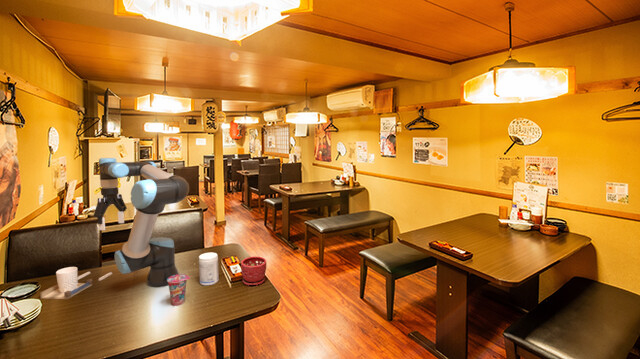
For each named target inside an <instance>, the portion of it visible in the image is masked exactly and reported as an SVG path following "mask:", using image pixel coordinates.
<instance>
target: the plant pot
mask: <svg viewBox="0 0 640 359" xmlns="http://www.w3.org/2000/svg"><path fill="white" fill-rule="evenodd" d="M240 267H241V268H240V269H241V270H240V271H241V274H242V283H243V284H244V285H245V286H249V285H256V286H259V285H261V284H263V283H264V282H265V279H266V277H265V275H266V272H267V259H266V258H265V257H263V256H262V257H261V256H248V257H246V258H244V259H242V260H241V263H240ZM258 284H259V285H258Z"/></svg>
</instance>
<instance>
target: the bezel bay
mask: <svg viewBox="0 0 640 359" xmlns="http://www.w3.org/2000/svg"><path fill="white" fill-rule="evenodd" d="M93 284H94V281H93V278H89V279H87V280H86V283H85V282H84V283H83V282H77V288H76V289H74V290H72V291H66V292H64V293H61V292H59V287H58V283H57V284H55V285H53V286H51V287H49V288H47V289H45V290H43V291H41V292H39V294H40V299H51V300H53V299H55V300H69V299H70V298H72V297H74V296H75V295H78V294H79V293H81V292H82V291H84V290H86V289H87V288H90V287H91V286H93Z"/></svg>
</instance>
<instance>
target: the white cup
mask: <svg viewBox="0 0 640 359" xmlns="http://www.w3.org/2000/svg"><path fill="white" fill-rule="evenodd" d="M78 272H79V271H78V267H76V266H69V267H64V268H60V269H58V270H57V271H56V272H55V274H56V280H57V281H56V282H57V284H58V287H59V292H61V293H64V292H66V291H72V290H74V289H76V288H77V283H79V282H78V281H79V280H78V277H79V275H78Z"/></svg>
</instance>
